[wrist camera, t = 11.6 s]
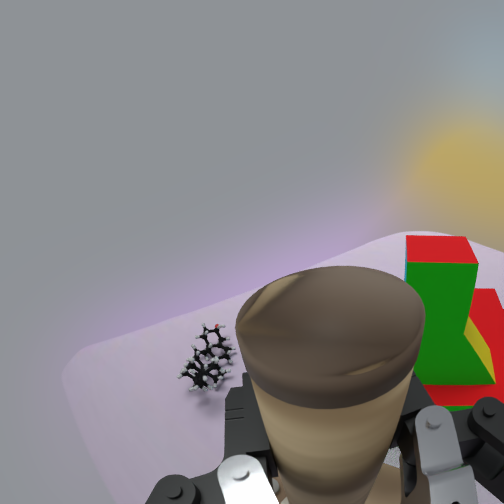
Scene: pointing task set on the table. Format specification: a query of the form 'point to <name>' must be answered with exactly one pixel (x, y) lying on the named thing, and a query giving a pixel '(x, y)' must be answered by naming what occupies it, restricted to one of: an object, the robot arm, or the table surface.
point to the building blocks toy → (455, 323)
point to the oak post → (331, 374)
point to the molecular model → (202, 373)
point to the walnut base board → (380, 497)
